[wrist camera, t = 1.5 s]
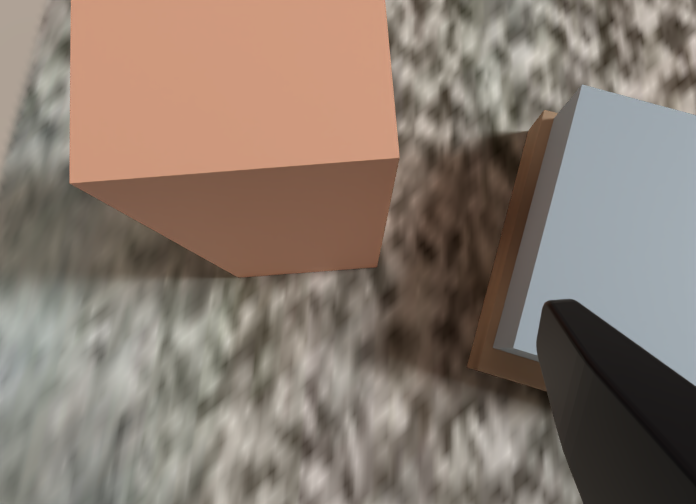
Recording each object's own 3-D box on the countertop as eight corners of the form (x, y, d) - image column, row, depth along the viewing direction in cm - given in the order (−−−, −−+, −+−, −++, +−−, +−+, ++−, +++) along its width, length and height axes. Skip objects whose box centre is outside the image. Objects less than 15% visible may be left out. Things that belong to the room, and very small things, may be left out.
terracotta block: (376, 267, 20) (399, 158, 9) (238, 277, 20) (69, 183, 9) (366, 134, 21) (372, -132, 9) (232, 145, 21) (72, -108, 9)
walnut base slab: (716, 442, 20) (766, 456, 17) (463, 366, 20) (477, 369, 18) (761, 200, 21) (814, 181, 19) (523, 136, 22) (544, 109, 19)
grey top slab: (747, 426, 17) (810, 439, 15) (492, 347, 18) (513, 347, 15) (793, 184, 19) (859, 159, 16) (553, 118, 19) (582, 84, 17)
